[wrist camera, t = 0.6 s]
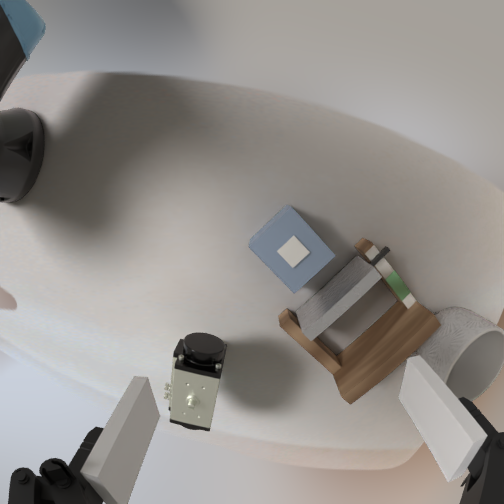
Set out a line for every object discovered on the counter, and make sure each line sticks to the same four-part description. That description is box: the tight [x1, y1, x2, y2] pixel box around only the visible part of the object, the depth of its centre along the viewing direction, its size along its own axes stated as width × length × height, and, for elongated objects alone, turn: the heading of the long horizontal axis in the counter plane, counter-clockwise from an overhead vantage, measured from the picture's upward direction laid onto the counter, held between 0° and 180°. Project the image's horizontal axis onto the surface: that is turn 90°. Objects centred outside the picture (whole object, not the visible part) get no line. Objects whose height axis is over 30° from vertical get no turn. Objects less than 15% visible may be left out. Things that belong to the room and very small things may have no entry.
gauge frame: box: [278, 238, 441, 404], centre depth 33 cm, size 12×15×8 cm
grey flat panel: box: [296, 246, 390, 341], centre depth 33 cm, size 2×13×6 cm, turn 134°
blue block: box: [249, 205, 336, 293], centre depth 33 cm, size 7×6×5 cm
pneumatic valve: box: [164, 333, 227, 431], centre depth 32 cm, size 6×12×12 cm, turn 168°
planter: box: [417, 307, 504, 401], centre depth 32 cm, size 12×12×11 cm
